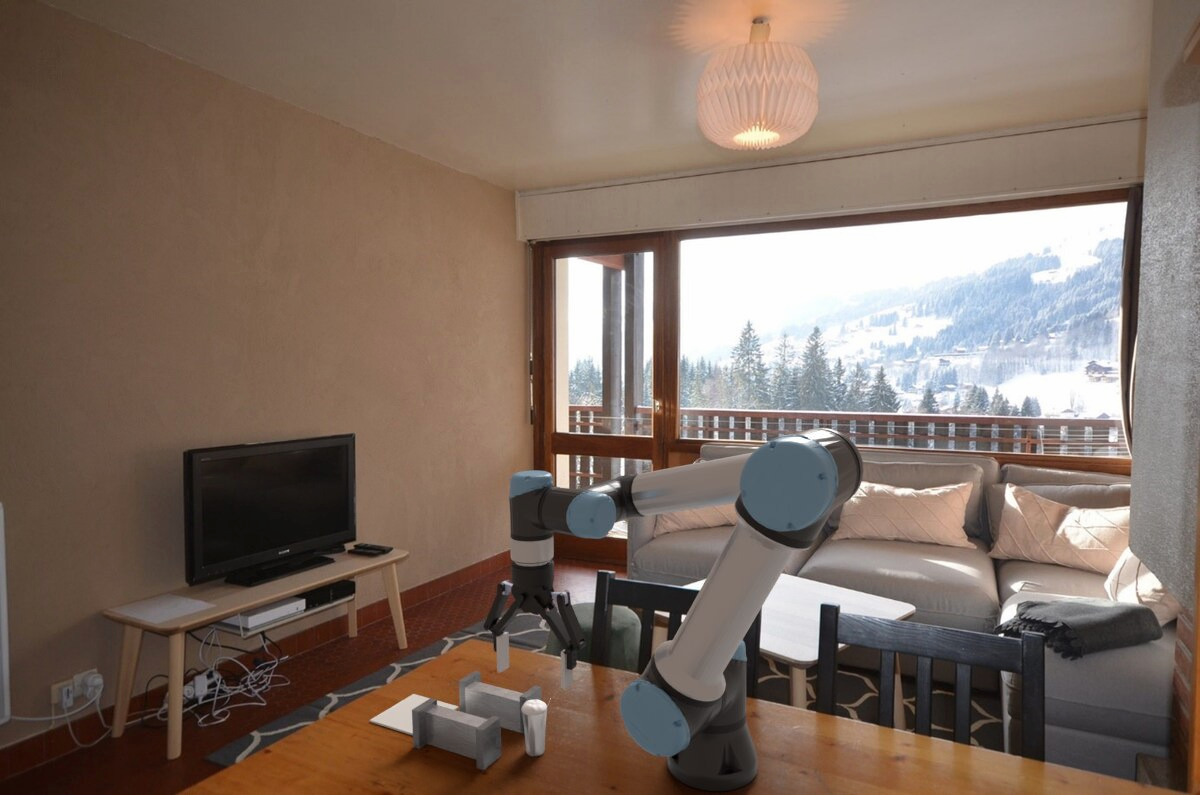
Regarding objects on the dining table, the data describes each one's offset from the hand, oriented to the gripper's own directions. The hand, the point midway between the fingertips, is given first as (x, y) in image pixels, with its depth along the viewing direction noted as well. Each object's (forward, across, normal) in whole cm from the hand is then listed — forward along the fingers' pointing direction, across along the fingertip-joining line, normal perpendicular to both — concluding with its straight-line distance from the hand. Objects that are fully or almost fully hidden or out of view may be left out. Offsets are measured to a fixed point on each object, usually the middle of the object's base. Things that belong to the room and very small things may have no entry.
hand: (534, 677), depth 130 cm
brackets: (+14, +12, 0) cm, 19 cm away
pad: (+14, +28, 0) cm, 32 cm away
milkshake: (+14, 0, 0) cm, 14 cm away
